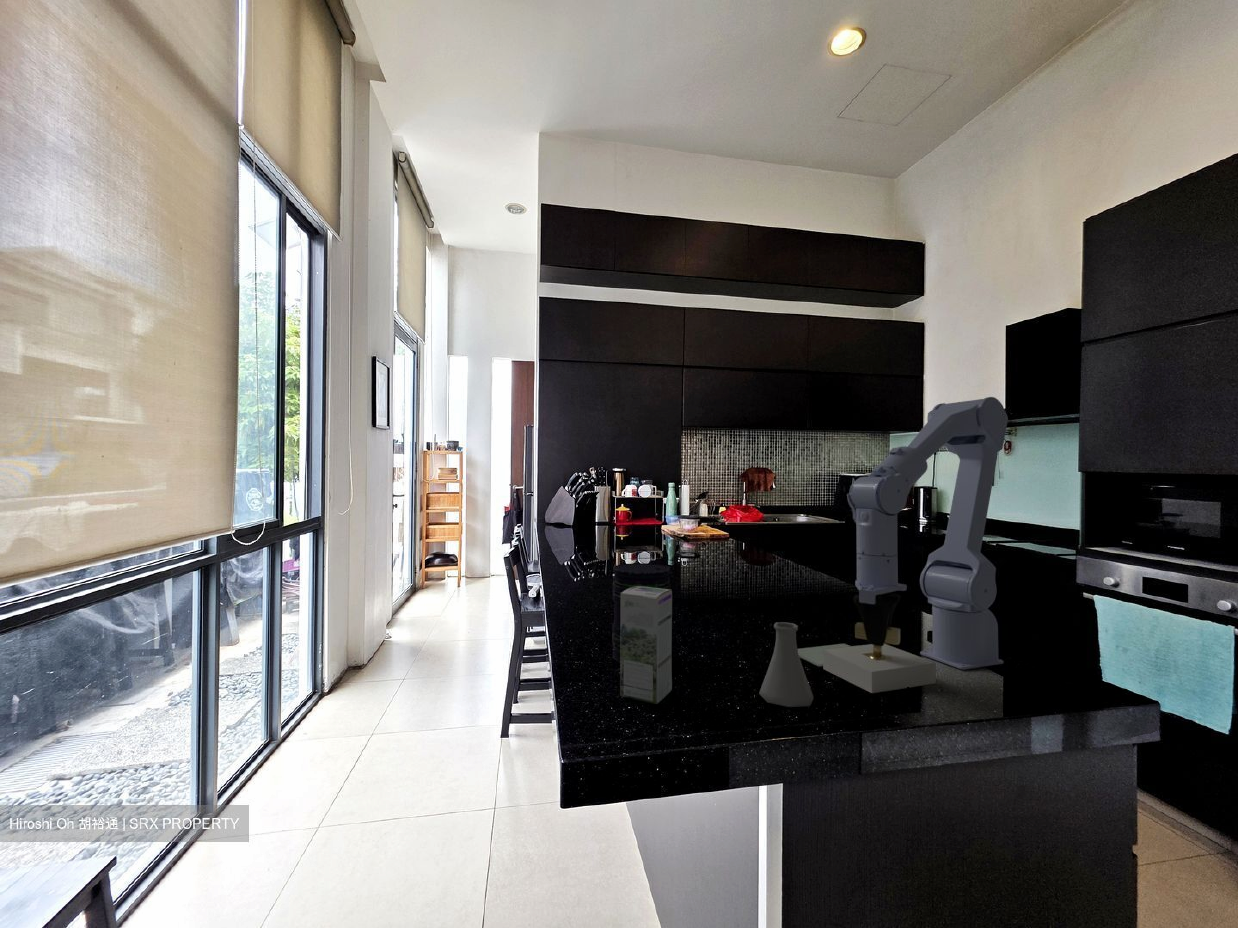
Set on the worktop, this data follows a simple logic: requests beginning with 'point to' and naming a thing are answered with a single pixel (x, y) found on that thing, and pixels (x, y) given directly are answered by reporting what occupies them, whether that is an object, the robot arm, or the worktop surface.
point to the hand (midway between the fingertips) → (877, 642)
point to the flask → (786, 671)
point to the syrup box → (646, 643)
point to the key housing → (879, 668)
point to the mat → (817, 653)
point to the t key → (891, 638)
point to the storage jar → (629, 578)
